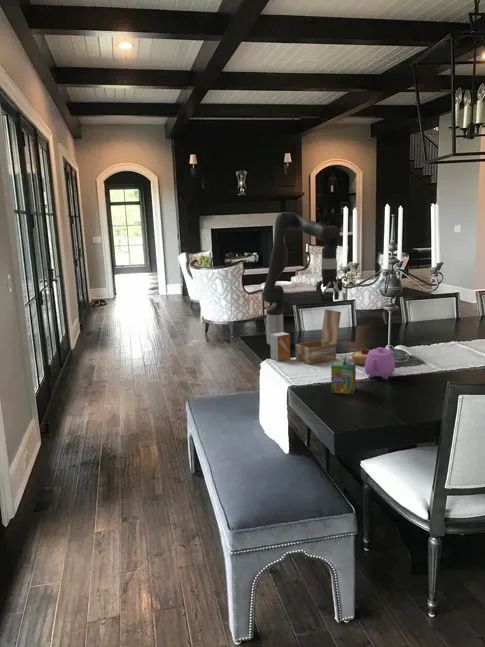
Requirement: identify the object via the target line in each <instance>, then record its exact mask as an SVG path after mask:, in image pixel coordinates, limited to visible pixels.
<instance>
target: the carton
mask: <svg viewBox="0 0 485 647" xmlns="http://www.w3.org/2000/svg"><path fill="white" fill-rule="evenodd" d="M294 348H295V351H294V352H295V354H294V355H295V361H298V362H301V363H303V362H304V364H307V365H315V364H321V363H326V362H330V361H334V360H335V359H337V344H336V343H332V342H328V341H324V340H321V339H317V340H312V341H311V340H310V341H306V342H300V343H295V346H294Z"/></svg>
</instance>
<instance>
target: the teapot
mask: <svg viewBox="0 0 485 647" xmlns="http://www.w3.org/2000/svg"><path fill="white" fill-rule="evenodd" d="M395 364H396V363H395V359H394V354H393V351H392V350H391V349H388V348H386V347H383V346H382V347H380V346H379V347H376V348H373V349H369V353H368V355H367V358H366V362H365V366H364V372H365V374H366V375H367V377H368V378H370V379H372V378H373V379H374V377H381V378H382V379H383V380H389V377H390V376H391V375H393V373H394V372H395V368H396V365H395Z"/></svg>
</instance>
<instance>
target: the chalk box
mask: <svg viewBox="0 0 485 647" xmlns="http://www.w3.org/2000/svg"><path fill="white" fill-rule="evenodd" d="M346 359H347V354H345V357H344V360H341V359H340V360H333V362H332V364H331V370H330V371H331V373H330V374H331V376H330V378H331V379H330V380H331V382H330V386H331V387H330V393H331V394H342V395H346V394H347V395H354V393H355V390H356V379H357V378H356V377H357V376H356V373H357V369H356V368H357V367H356V366H357V365H356V361H353V360H346Z"/></svg>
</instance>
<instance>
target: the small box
mask: <svg viewBox="0 0 485 647" xmlns="http://www.w3.org/2000/svg"><path fill="white" fill-rule="evenodd" d="M269 346H270V360H272V361H276V362H281V361H285V360H290V359H291V334H290V333H287V332H284V331H283V332H281V333H275V334H270V345H269Z"/></svg>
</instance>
